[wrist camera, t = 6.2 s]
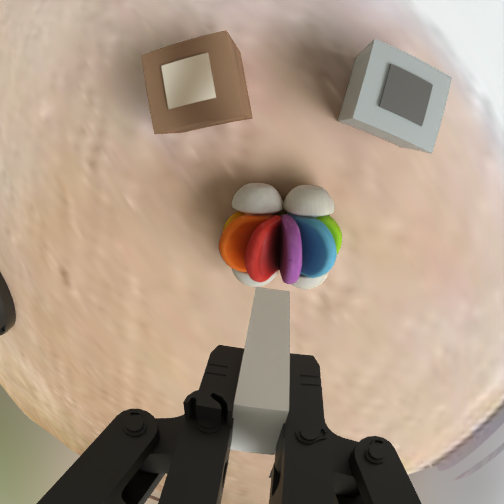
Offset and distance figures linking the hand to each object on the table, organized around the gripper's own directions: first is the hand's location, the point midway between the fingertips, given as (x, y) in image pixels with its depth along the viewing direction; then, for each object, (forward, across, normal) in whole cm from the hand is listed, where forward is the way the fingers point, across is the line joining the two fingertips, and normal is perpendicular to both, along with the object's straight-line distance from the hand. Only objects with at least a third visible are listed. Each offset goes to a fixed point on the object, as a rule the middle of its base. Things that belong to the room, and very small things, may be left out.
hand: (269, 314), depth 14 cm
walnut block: (+14, -7, +11) cm, 19 cm away
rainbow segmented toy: (+14, 0, 0) cm, 14 cm away
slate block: (+13, +7, +12) cm, 19 cm away
